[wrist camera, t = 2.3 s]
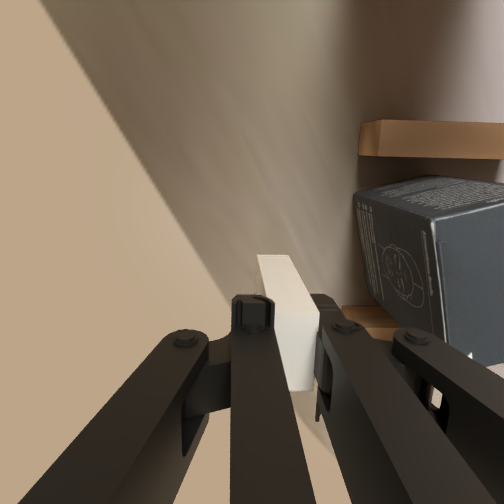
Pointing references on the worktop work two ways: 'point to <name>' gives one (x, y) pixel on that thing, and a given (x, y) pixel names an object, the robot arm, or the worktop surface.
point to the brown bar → (420, 145)
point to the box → (438, 259)
